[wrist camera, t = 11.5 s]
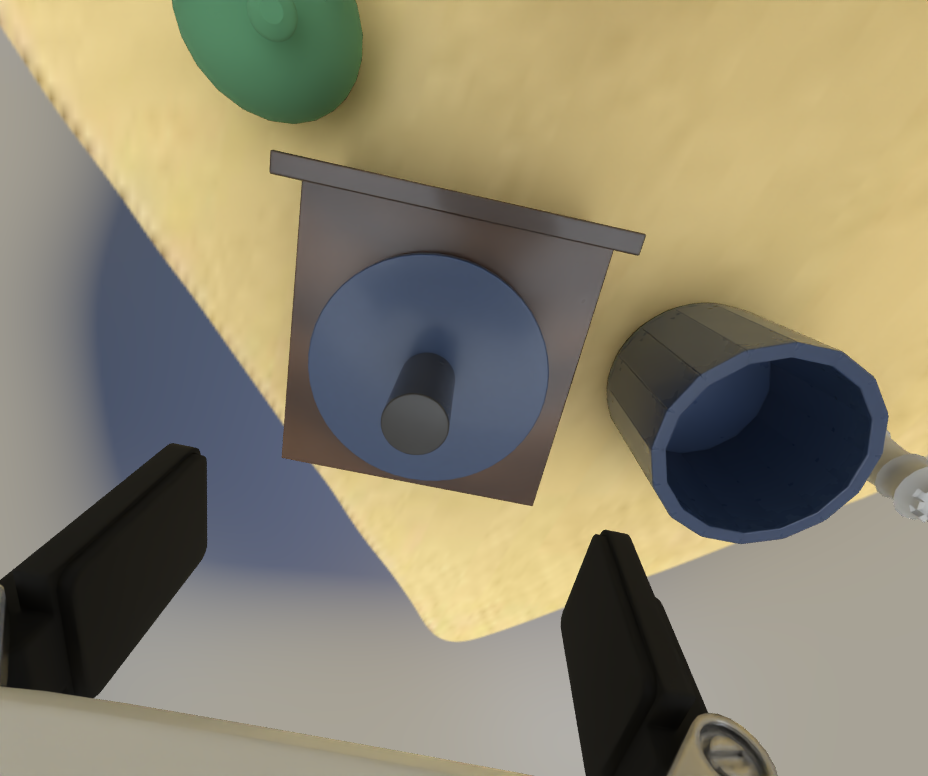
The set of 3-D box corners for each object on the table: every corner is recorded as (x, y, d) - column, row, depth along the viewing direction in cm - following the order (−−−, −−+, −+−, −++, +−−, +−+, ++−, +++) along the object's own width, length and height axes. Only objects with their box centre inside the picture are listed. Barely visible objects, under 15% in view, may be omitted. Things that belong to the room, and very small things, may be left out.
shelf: (341, 165, 26) (270, 149, 17) (590, 221, 26) (647, 234, 18) (316, 411, 31) (253, 495, 22) (523, 452, 32) (540, 549, 23)
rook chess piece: (881, 402, 30) (1013, 469, 23) (852, 463, 32) (967, 545, 24) (810, 394, 30) (920, 460, 22) (785, 456, 32) (880, 536, 24)
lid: (327, 226, 21) (271, 237, 15) (574, 280, 22) (609, 310, 16) (306, 446, 25) (256, 519, 20) (513, 486, 26) (524, 569, 20)
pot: (639, 285, 28) (703, 321, 20) (807, 323, 28) (935, 371, 20) (585, 440, 32) (621, 521, 24) (734, 470, 32) (818, 559, 24)
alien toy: (409, 7, 23) (362, -121, 14) (345, 160, 26) (269, 140, 16) (273, -83, 22) (123, -288, 13) (221, 87, 25) (64, 21, 15)
